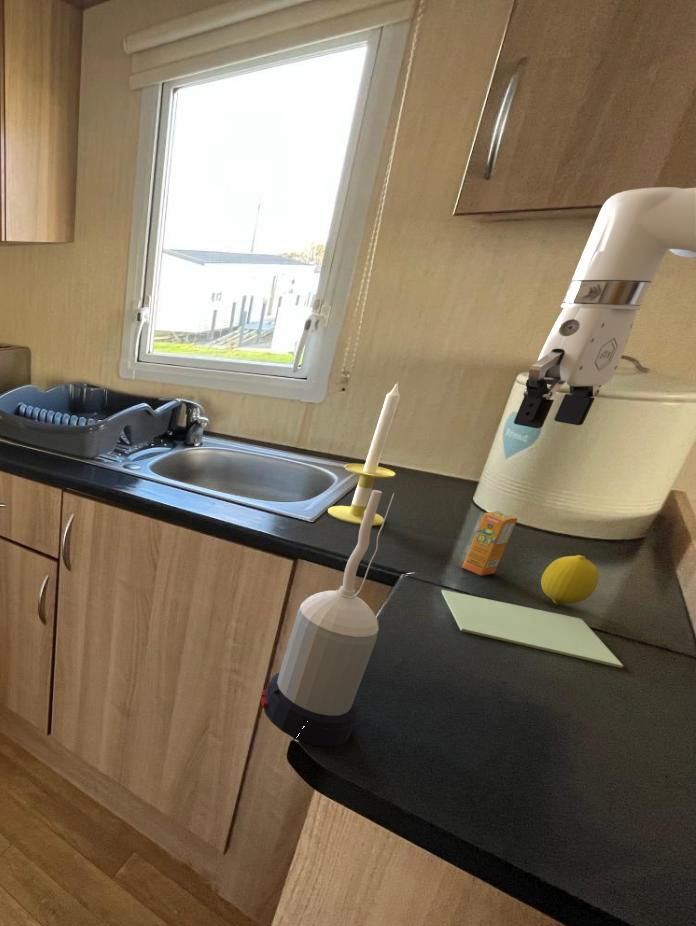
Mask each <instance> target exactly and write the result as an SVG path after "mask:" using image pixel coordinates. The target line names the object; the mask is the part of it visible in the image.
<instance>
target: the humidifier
mask: <svg viewBox="0 0 696 926" xmlns="http://www.w3.org/2000/svg"><path fill="white" fill-rule="evenodd" d="M382 494H383V492H382V491H381V490H377V489H372V490H371V493H370V496H369V499H368V502H367V505H366V508H365V510H366V511H365V514H364V517H363V520H362V523H361V525H360V527H359V531H358V537H357V544H356V546H355V548H354V549H353V551H352V553H351V554H350V556H349V558H348V559H347V563H346V566H345V568H344V572H343V573H344V574H343V578H342V585H341V586H339V588H338V589H336V590H325V591H320V592H317V593H313V594H312V595H310V596H308V597H307V598H306V599H305V600H303V601H302V602H301V603H300V607H299V608H298V610H297V614H296V616H295V620H294V624H293V626H292V630H291V633H290V637H289V640H288V643H287V646H286V651H285V653H284V657H283V660H282V662H281V663H282V664H281V667H280V671H279V672H277V673H275V675H273V676H272V677H271V679H270V681H269V682H268V685H267V688H266V689H265V688H263V690H262V693H261V696H260V702H261V706H262V708H263V712H264V714H265V716H266V717H267V718H268V720H269V721H270V723H272V724H273V725H274V726H275V727H276V728H277V729H278V730H280V731H281V732H283V733H285V734H286V735H288V736H290V737H291V738H293V739H295V740H298V741H300V742H303V743H306V744H309V745H313V746H317V747H322V748H323V747H325V748H326V747H338V746H340V745H343V744H345V743H346V742H347V741H348V739H349V738H350V736H351V734H352V731H353V728H354V726H355V723H356V720H357V715H358V714H357V712H358V711H357V710H358V709H357V705H356V703H355V698H356V696H357V693H358V690H359V688H360V685H361V682H362V680H363V676H364V674H365V672H366V668H367V666H368V664H369V661H370V658H371V656H372V653H373V650H374V647H375V645H376V642H377V639H378V632H379V630H380V629H379V621H378V618H377V616H376V614H375V613H374V611H373V610H372V608H371V607H370V606H369V604H368V603H366V602H365V600H363V599H361V598H360V597H358V594H360V592H361V591H362V589H363V586H364V584H365V582H366V580H367V579H366V578H367V576H368V573H369V570H370V567H371V564H372V562H373V560H374V558H375V557H376V555H377V552H378V550H379V537H380V535H381V532H382V529H383V528H384V526H385V522H386V520H387V517H388V513H389V510H390V508H391V504H392V502H393V499H394V496H395V493H394V492H393V493H392V496H391V499H390V502H389V504H388V507H387V510H386V513H385V516H384V517H383V518H384V521H383V524H381V526H380V529H379V531H378V533H377V536H376V548H375V551H374V553H373V555H372V557H371V558H370V561H369V563H368V566H367V568H366V572H365V574H364V577H363V580H362V583H361V585H360V588H359V589H358V591H357V592H356V590H355V585H356V584H355V583H356V576H357V571H358V568H359V565H360V563H361V561H362V559H363V557H364V556H365V555H366V553H367V551H368V548H369V545H370V537H371V531H372V527H373V526H372V524H373V520H374V517H375V514H377V511H378V506H379V503H380V500H381V497H382ZM307 721H308V722H307ZM303 726H305V727H304V728H303ZM302 728H303V729H302ZM299 733H300V734H299ZM298 734H299V736H298ZM297 736H298V737H297ZM296 737H297V738H296Z"/></svg>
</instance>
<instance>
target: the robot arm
mask: <svg viewBox="0 0 696 926" xmlns="http://www.w3.org/2000/svg"><path fill="white" fill-rule="evenodd" d="M583 249H584V250H583V252H582V254H581V256H580V259H579V261H578V263H577V266H576V268H575V271H574V275H573V276H572V278H571V281H570V283H569V286H568V288H567V290H566V293H565V295H564V298H563V300H562V303H561V304H560V308H563V309H562V310H561V312H560V314H559V316H558V318H557V319H556V321H555V323H554V325H553V326H552V329H551V331H550V333H549V335H548V336H547V338H546V341H545V343H544V345H543V347H542V349H541V351H540V354H539V356H538V359H537V361H536V362H534V363H532V364H531V365H530V367H529V370H528V379H527V380H526V381H525V389H524V391H523V393H522V394H523V398H522V400H521V403H520V406H519V408H518V411H517V413H516V415H515V418H514V420H513V424H514V425H517V426H522V427H527V428H533V429H541V428H543V426H544V424H545V422H546V420H547V418H548V415H549V413H550V410H551V409H552V407H553V403H554V400H555V399H552V398H553V396H554V395H556V393H557V392H558V391H559V390H560V388H562V386H563V385H564V384H565V383H566V385H567V386H568V387H569V393H565V394H564V396H563V398H562V399H561V402H560V405H559V407H558V409H557V412H556V414H555V416H554V419H553V420H554V422H558V423H563V424H568V425H574V426H582V425H584V423H585V420H586V418H587V416H588V414H589V412H590V410H591V407H592V405H593V403H594V401H595V399H596V398H597V397H598V396H599V394H600V388H601V387H602V386H605V385H606V384H608V383H610V382H611V381H612V379H613V378H614V375H615V373H616V371H617V369H618V366H619V363H620V361H621V359H622V356H623V354H624V352H625V349H626V346H627V344H628V341H629V338H630V336H631V333H632V330H633V327H634V324H635V323H634V322H635V320H636V315H637V311H640V310H641V308H642V306H643V303H644V302H645V299H646V297H647V295H648V293H649V291H650V288H651V286H652V284H653V283H654V280H655V278H656V276H657V274H658V271H659V269H660V268H661V265H662V263H663V261H664V259H665V256H666V255H667V252H668V251H669V252H671V253H673V254H674V255H676V256H679V257H682V258H689V259H691V258H692V259H696V187H688V188H681V187H675V186H673V187H671V186H669V187H668V186H661V187H660V186H658V187H644V188H643V187H642V188H634V189H628V190H623V191H620V192H616V193H615V194H613V195H611V196H610V197H609V198H607V199H606V201H605V202H604V203H603V204H602V206H601V209H600V211H599V213H598V216H597V218H596V220H595V222H594V226H593V228H592V230H591V233H590V235H589V237H588V239H587V242H586V244H585V247H584V248H583ZM548 385H549V386H548Z"/></svg>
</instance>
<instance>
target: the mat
mask: <svg viewBox="0 0 696 926" xmlns="http://www.w3.org/2000/svg"><path fill="white" fill-rule="evenodd" d="M440 592H441V594H442V596H443V598H444V601H445V602H446V604H447V606H448V608H449V610H450V612H451V615H452V617H453V618H454V621H455V622H456V625H457V626H458V628H459V630H460V632H462V633H463V632H464V633H467V634H472V635H477V636H480V637H485V638H490V639H494V640H499V641H503V642H507V643H511V644H516V645H520V646H524V647H529V648H533V649H537V650H541V651H546V652H551V653H554V654H558V655H559V654H560V655H563V656H567V657H571V658H576V659H580V660H583V661H588V662H593V663H597V664H602V665H606V666H611V667H615V668H620V669H623V667H624V664H623V663H622V662H621V661H620V660H619V659H618V658H617V657H616V656H615V654H614V653H613V652H612V651H611V650H610V649H609V648H608V647H607V646H606V644H605V643H604V642H603V641H602V640H601V639H600V637H599V636H598V635H596V633H595V632H594V631H593V630H592V629H591V628H590V627H589V626H588V624H587V623H586V622H585V621H584V620H583V619H582V618H579V617H575V616H569V615H565V614H561V613H557V612H550V611H545V610H541V609H536V608H532V607H528V606H527V607H526V606H523V605H517V604H513V603H508V602H503V601H498V600H493V599H488V598H484V597H479V596H474V595H470V594H466V593H461V592H455V591H450V590H445V589H441V591H440Z"/></svg>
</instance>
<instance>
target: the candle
mask: <svg viewBox="0 0 696 926" xmlns="http://www.w3.org/2000/svg"><path fill="white" fill-rule="evenodd" d="M400 398H401V394H400V392H399V381H398V380H397V381H396V383H395V384H394V386H393V387H392V389H391V391H390V392H388V393H386V396H385V399H384V403H383V406H382V409H381V412H380V415H379V418H378V422H377V425H376V428H375V431H374V434H373V438H372V441H371V443H370V447H369V450H368V453H367V457H366V460H365V463H356V462H355V463H348V464H345V465H344V468H345V470H346V471H347V472H349V473H352V474H355V475H358V476H359V480H358V482H357V486H356V488H355V492H354V495H353V498H352V501H351V505H350V506H349V505H333V506H330V507H328V508H327V513H328V514H329V515H330V516H331V517H334V518H335V519H338V520H340V521H343V522H347V523H350V524H355V525H360V526H361V523H362V520H363V517H364V514H365V511H366V508H367V505H368V502H369V499H370V496H371V493H372V490H373V486H374V483H375V479H392V478H395V477H396V475H397V474H396V472H394V471H393V470H392V469H390V468H385V467H382V466H379V464H380V461H381V458H382V455H383V451H384V448H385V445H386V442H387V439H388V435H389V433H390V430H391V426H392V423H393V420H394V417H395V414H396V410H397V408H398V405H399V402H400ZM384 518H385V517H383V516H381V515H380V514H379V513H376V514H375V517H374V520H373V524H372V527H373V526H374V527H375V526H382V524H383V521H384Z"/></svg>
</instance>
